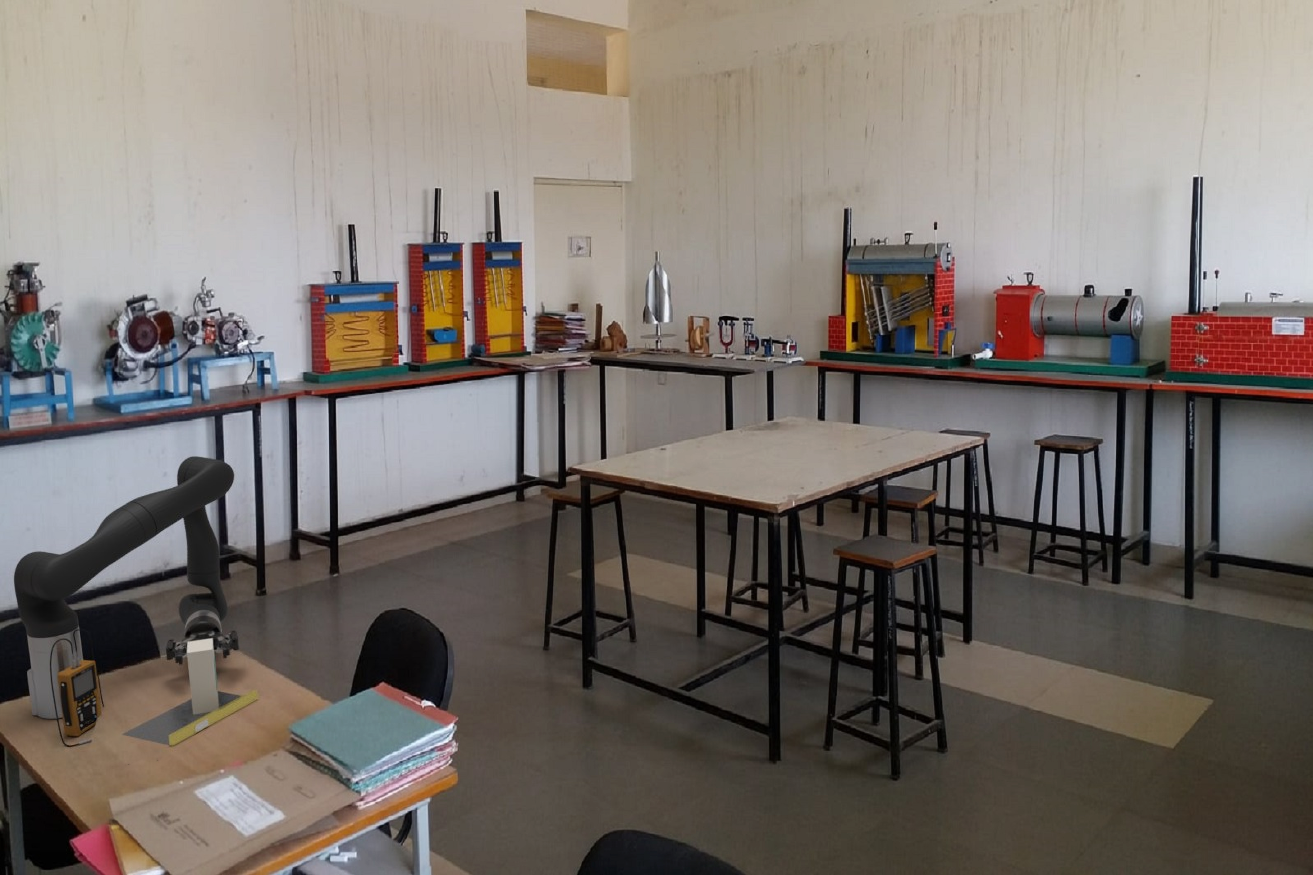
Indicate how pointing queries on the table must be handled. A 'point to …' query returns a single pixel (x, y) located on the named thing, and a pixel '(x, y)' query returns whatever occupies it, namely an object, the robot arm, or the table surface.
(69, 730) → the multimeter
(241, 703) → the shelf
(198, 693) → the carton
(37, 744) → the table surface
